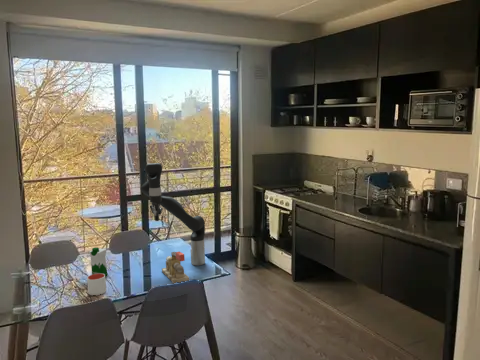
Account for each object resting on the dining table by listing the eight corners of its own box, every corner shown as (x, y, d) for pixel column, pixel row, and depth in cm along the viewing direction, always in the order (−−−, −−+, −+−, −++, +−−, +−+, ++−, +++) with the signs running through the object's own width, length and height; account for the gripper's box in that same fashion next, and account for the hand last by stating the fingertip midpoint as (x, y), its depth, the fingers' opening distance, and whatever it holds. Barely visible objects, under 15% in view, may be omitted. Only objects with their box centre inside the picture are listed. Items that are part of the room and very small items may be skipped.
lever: (180, 261, 251) (179, 255, 251) (170, 255, 264) (170, 249, 263) (185, 260, 253) (184, 254, 252) (175, 254, 265) (174, 248, 265)
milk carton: (89, 279, 264) (87, 249, 261) (98, 274, 272) (96, 244, 269) (101, 280, 261) (98, 250, 258) (110, 275, 269) (107, 245, 266)
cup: (91, 289, 247) (89, 273, 245) (108, 288, 248) (106, 272, 246) (86, 296, 237) (84, 280, 235) (104, 295, 238) (102, 279, 236)
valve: (161, 271, 273) (160, 251, 271) (176, 268, 278) (175, 249, 276) (173, 283, 252) (172, 262, 250) (189, 280, 257) (188, 259, 255)
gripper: (145, 194, 266) (146, 220, 269) (155, 196, 256) (157, 223, 259) (155, 192, 271) (156, 218, 274) (165, 194, 261) (167, 221, 264)
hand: (156, 220), depth 266 cm, fingers closed
